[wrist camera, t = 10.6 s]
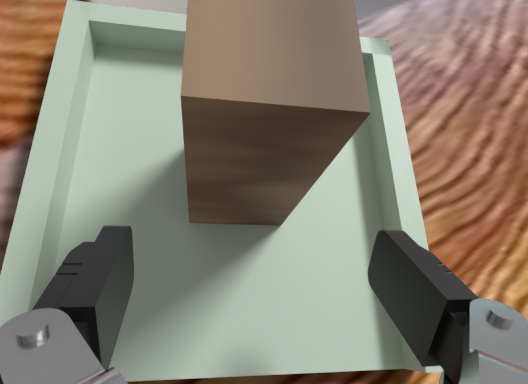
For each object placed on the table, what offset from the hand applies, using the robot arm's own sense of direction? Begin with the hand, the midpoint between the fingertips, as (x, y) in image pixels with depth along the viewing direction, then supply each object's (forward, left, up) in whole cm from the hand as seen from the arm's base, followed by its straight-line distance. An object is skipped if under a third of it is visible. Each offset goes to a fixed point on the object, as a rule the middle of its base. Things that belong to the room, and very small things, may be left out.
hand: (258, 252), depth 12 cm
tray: (0, +5, -6) cm, 8 cm away
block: (0, +5, -5) cm, 7 cm away
